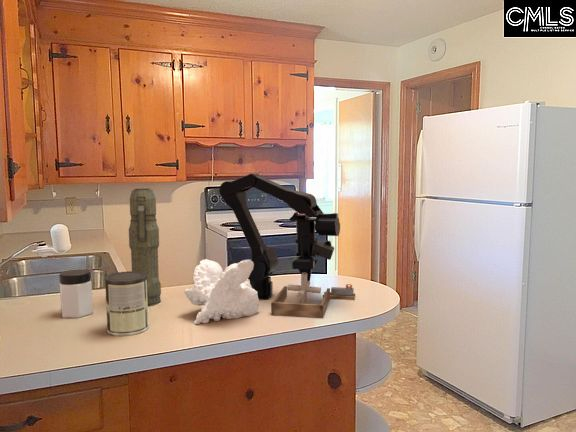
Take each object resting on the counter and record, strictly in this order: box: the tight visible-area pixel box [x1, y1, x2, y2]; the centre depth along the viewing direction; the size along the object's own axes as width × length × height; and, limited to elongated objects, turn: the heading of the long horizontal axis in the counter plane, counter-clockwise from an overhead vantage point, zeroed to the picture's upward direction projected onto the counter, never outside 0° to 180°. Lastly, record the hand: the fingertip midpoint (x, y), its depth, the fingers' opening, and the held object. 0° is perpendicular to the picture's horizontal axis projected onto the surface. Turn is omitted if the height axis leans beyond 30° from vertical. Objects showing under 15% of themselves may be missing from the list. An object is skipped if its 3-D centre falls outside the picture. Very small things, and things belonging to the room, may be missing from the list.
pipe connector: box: [286, 272, 322, 304], centre depth 141 cm, size 10×10×10 cm
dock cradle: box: [270, 285, 356, 319], centre depth 142 cm, size 22×23×4 cm
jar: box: [58, 268, 94, 319], centre depth 134 cm, size 9×8×12 cm
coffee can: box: [104, 270, 150, 337], centre depth 121 cm, size 10×10×14 cm
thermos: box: [128, 188, 162, 307], centre depth 144 cm, size 9×12×35 cm
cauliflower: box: [183, 258, 260, 325], centre depth 132 cm, size 19×20×20 cm
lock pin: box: [330, 283, 355, 296], centre depth 150 cm, size 7×2×4 cm, turn 79°
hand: (307, 284), depth 147 cm, fingers closed
